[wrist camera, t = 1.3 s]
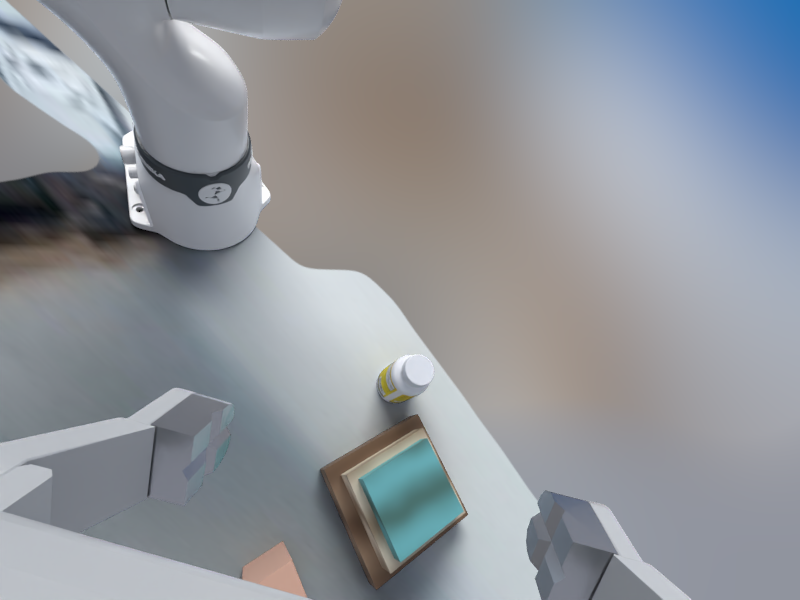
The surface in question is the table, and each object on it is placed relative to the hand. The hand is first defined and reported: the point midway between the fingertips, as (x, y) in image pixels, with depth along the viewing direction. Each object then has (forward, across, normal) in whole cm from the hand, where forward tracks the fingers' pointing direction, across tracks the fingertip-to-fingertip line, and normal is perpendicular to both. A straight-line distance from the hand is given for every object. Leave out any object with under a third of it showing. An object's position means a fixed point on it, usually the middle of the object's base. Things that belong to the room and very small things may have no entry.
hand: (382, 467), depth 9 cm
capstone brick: (+24, +7, +35) cm, 43 cm away
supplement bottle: (+42, -1, +18) cm, 46 cm away
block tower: (+34, -4, +29) cm, 44 cm away
